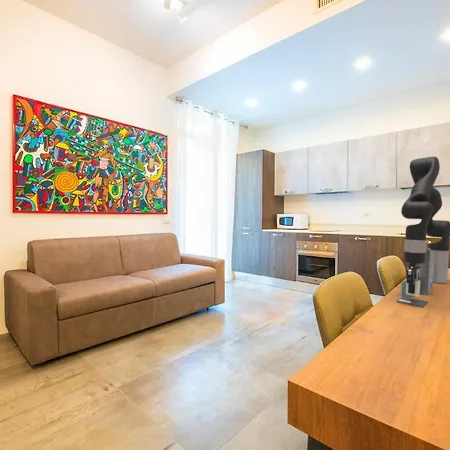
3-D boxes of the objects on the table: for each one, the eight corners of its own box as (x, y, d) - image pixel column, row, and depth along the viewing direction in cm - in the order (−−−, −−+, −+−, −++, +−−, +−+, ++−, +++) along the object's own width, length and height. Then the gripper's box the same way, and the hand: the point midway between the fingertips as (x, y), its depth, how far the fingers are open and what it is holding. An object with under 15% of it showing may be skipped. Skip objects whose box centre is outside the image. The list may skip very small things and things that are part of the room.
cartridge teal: (403, 293, 131) (404, 279, 130) (413, 295, 128) (414, 281, 127) (401, 295, 128) (401, 281, 127) (411, 297, 125) (412, 283, 125)
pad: (402, 297, 124) (402, 296, 124) (427, 302, 118) (428, 301, 118) (396, 302, 118) (396, 300, 118) (422, 307, 112) (423, 305, 112)
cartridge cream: (408, 292, 121) (409, 277, 120) (419, 294, 118) (420, 279, 117) (405, 294, 118) (406, 278, 118) (417, 296, 115) (417, 280, 115)
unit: (410, 289, 139) (412, 246, 138) (430, 292, 134) (433, 248, 133) (407, 291, 135) (409, 247, 134) (427, 295, 129) (430, 249, 128)
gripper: (408, 248, 125) (406, 287, 125) (399, 251, 115) (397, 293, 115) (429, 250, 119) (427, 291, 120) (421, 253, 109) (419, 297, 110)
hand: (412, 292), depth 118 cm, fingers closed on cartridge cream, 4 cm apart
